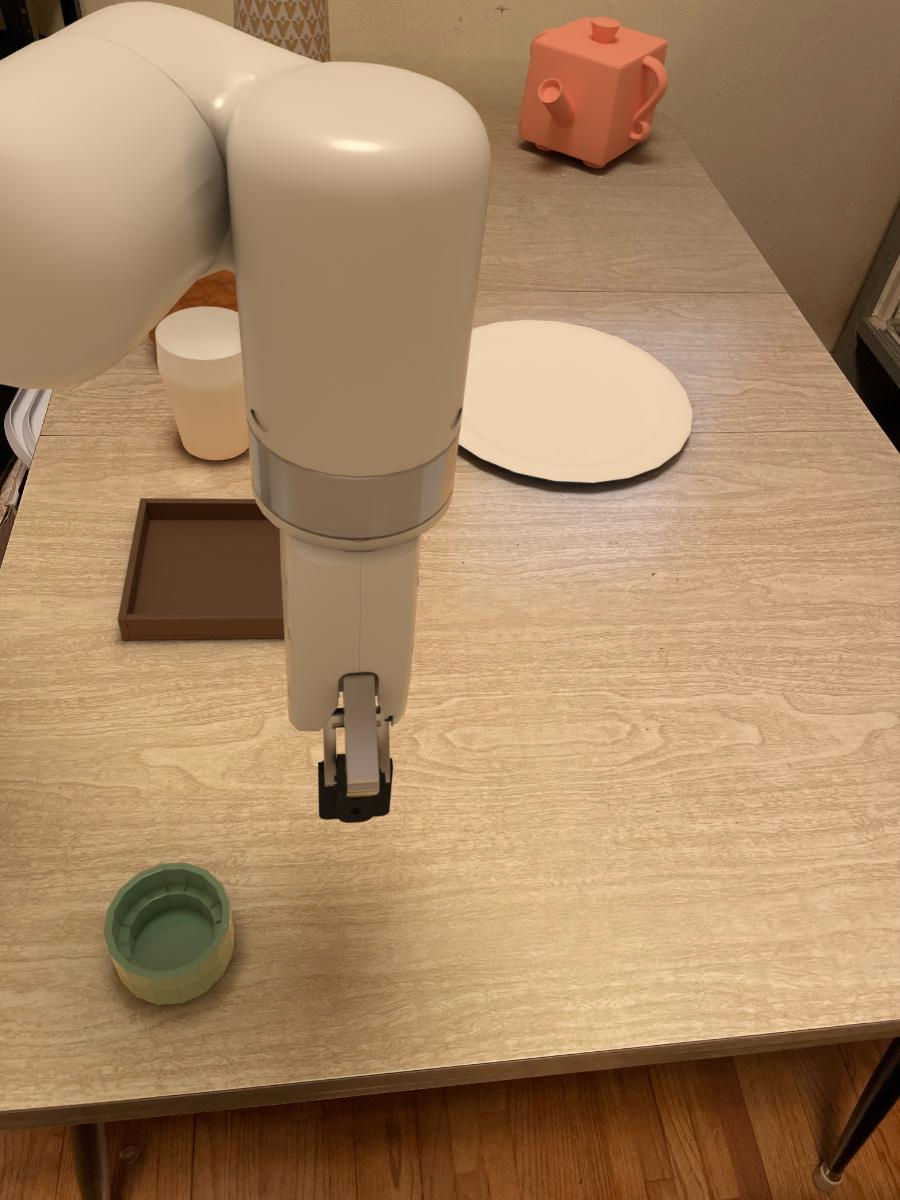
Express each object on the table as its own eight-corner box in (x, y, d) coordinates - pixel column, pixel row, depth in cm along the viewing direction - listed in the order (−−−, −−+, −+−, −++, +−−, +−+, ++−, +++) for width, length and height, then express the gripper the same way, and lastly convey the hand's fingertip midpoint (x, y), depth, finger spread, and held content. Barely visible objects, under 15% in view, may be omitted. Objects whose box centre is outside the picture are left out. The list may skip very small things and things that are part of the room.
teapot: (600, 202, 138) (628, 68, 125) (468, 155, 146) (482, 23, 133) (670, 151, 154) (701, 27, 141) (547, 110, 161) (567, -12, 148)
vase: (219, 133, 143) (198, -120, 120) (287, 111, 150) (279, -130, 128) (283, 165, 137) (274, -94, 115) (350, 141, 145) (354, -106, 123)
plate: (514, 303, 117) (516, 290, 116) (732, 400, 107) (737, 387, 106) (363, 409, 100) (363, 396, 98) (607, 536, 90) (611, 523, 88)
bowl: (109, 1011, 57) (95, 981, 54) (125, 898, 62) (113, 865, 59) (231, 1003, 58) (225, 974, 55) (237, 893, 63) (232, 860, 60)
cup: (173, 412, 96) (158, 304, 88) (265, 412, 98) (258, 306, 89) (165, 469, 90) (148, 360, 82) (263, 469, 92) (256, 361, 83)
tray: (122, 640, 76) (117, 619, 74) (144, 519, 86) (140, 497, 84) (340, 637, 78) (341, 617, 77) (338, 519, 88) (338, 499, 86)
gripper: (252, 322, 40) (271, 599, 53) (245, 635, 29) (271, 896, 41) (429, 324, 41) (407, 595, 54) (492, 626, 30) (444, 883, 42)
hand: (348, 725), depth 47 cm, fingers open, 9 cm apart
